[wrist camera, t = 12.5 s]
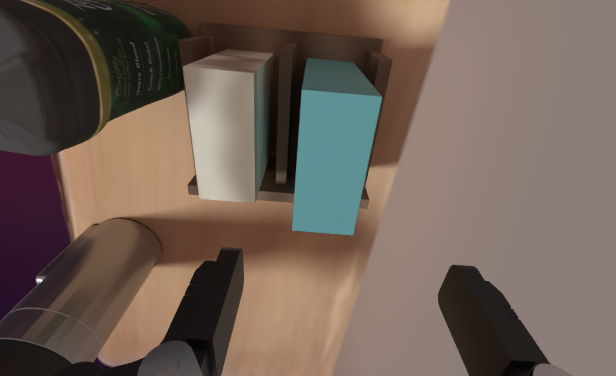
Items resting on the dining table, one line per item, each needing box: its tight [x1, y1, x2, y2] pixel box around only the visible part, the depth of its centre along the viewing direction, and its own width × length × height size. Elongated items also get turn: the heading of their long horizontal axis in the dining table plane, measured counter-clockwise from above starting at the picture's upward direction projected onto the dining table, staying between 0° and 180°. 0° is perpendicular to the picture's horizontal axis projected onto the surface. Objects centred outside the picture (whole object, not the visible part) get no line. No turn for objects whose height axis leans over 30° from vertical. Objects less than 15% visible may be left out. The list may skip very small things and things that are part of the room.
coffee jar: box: [0, 0, 190, 156], centre depth 21 cm, size 10×8×19 cm
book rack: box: [178, 23, 392, 209], centre depth 26 cm, size 17×14×12 cm
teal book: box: [292, 58, 382, 235], centre depth 25 cm, size 4×10×14 cm, turn 175°
